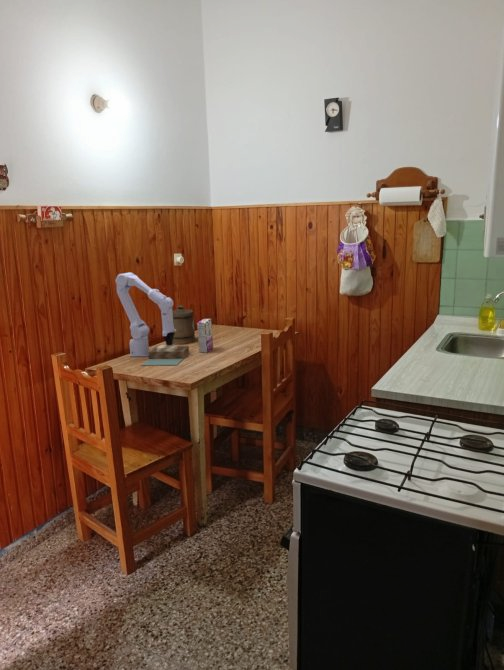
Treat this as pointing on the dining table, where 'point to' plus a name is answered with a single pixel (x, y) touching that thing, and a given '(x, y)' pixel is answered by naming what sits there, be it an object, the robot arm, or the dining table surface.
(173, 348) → the birch tile
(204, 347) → the candy bar box
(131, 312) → the robot arm
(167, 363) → the rubber mat
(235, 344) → the dining table surface
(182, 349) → the walnut board
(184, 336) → the wooden container
